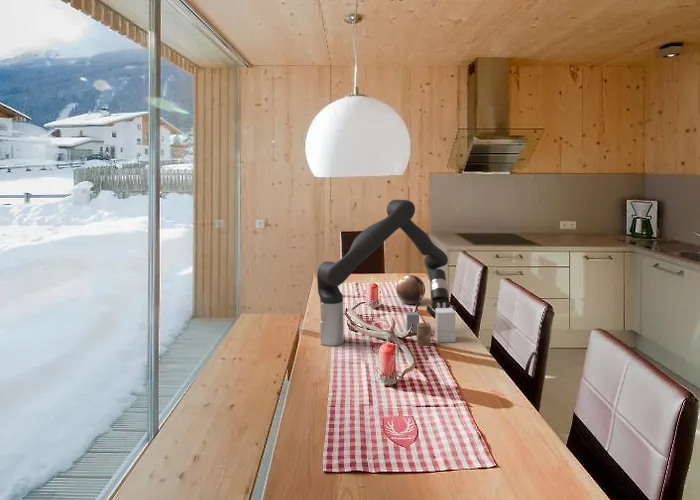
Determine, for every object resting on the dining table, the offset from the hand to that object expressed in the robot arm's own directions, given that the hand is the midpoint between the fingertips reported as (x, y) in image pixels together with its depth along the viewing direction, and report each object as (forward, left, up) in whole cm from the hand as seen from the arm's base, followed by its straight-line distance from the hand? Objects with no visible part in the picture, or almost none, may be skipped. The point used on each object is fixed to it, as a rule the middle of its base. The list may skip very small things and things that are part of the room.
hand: (442, 326), depth 221 cm
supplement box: (0, -4, -4) cm, 6 cm away
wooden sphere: (-9, +56, -4) cm, 57 cm away
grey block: (-12, +8, -4) cm, 15 cm away
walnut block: (-9, -9, -4) cm, 13 cm away
